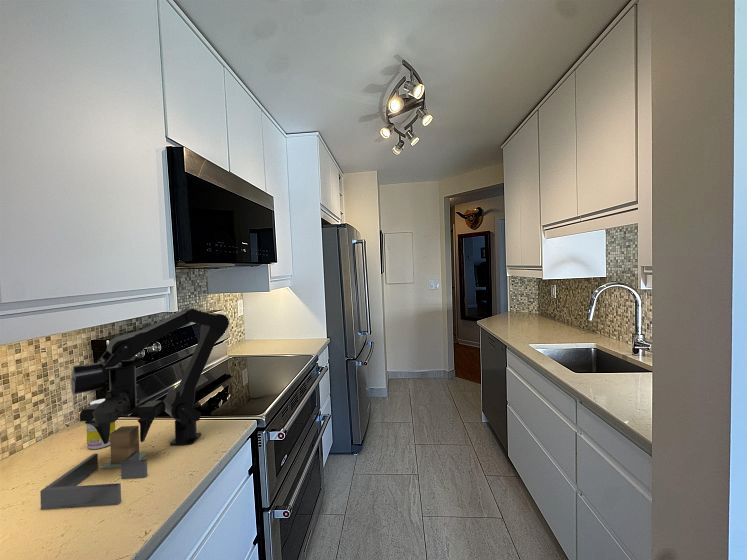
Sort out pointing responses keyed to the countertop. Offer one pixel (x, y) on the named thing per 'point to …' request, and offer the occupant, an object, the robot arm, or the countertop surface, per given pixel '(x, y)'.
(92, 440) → the supplement bottle
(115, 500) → the bent rails
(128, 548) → the countertop surface
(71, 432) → the countertop surface
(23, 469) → the countertop surface
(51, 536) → the countertop surface
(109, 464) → the mat
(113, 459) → the walnut block
